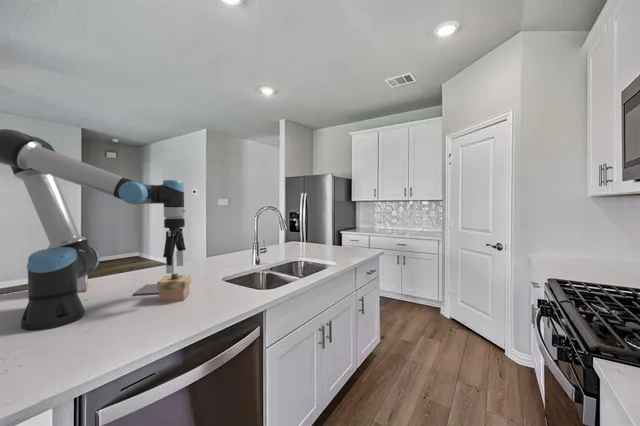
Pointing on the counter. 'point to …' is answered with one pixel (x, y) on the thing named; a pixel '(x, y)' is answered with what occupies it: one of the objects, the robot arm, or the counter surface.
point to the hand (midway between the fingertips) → (175, 269)
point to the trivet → (147, 290)
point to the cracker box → (82, 283)
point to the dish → (173, 294)
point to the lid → (174, 282)
